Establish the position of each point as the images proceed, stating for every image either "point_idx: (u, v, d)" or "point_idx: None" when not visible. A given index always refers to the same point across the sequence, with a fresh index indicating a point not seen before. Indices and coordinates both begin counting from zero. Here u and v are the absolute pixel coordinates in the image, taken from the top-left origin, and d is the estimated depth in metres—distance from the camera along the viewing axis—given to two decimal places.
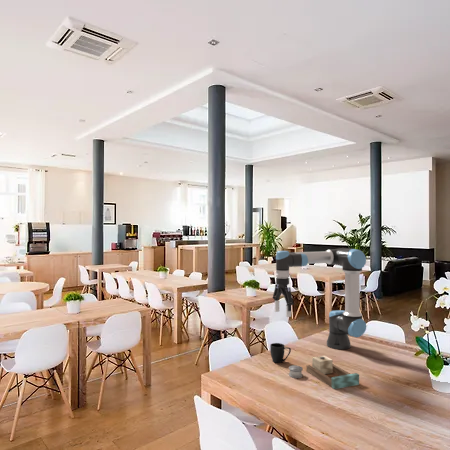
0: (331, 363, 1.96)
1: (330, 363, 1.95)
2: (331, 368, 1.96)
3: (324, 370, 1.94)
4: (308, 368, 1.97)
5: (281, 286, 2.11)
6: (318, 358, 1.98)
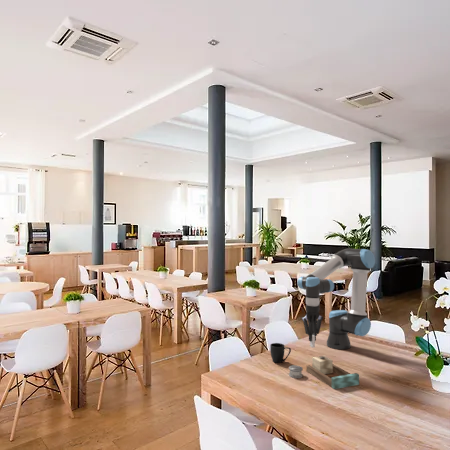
0: (331, 363, 1.96)
1: (330, 363, 1.95)
2: (331, 368, 1.96)
3: (324, 370, 1.94)
4: (308, 368, 1.97)
5: None
6: (318, 358, 1.98)
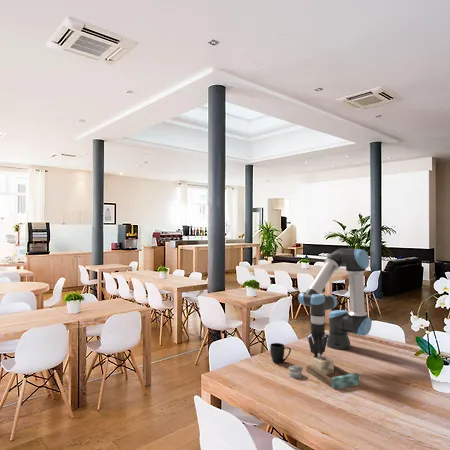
0: (333, 364, 1.95)
1: (331, 363, 1.94)
2: (332, 369, 1.95)
3: (325, 371, 1.93)
4: (308, 368, 1.97)
5: None
6: (319, 359, 1.97)
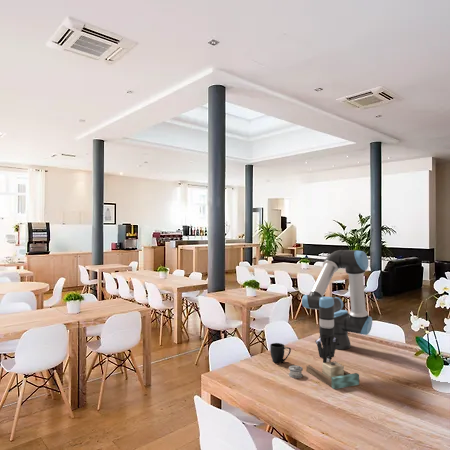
0: (343, 370, 1.87)
1: (341, 369, 1.87)
2: (342, 374, 1.87)
3: None
4: (308, 368, 1.97)
5: None
6: (328, 364, 1.89)
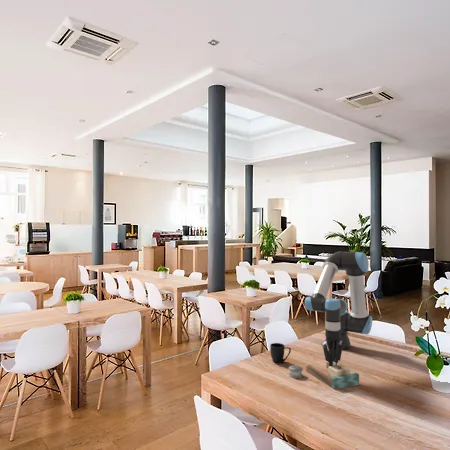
0: (349, 373, 1.82)
1: (347, 373, 1.82)
2: None
3: None
4: (308, 368, 1.97)
5: None
6: (335, 367, 1.85)
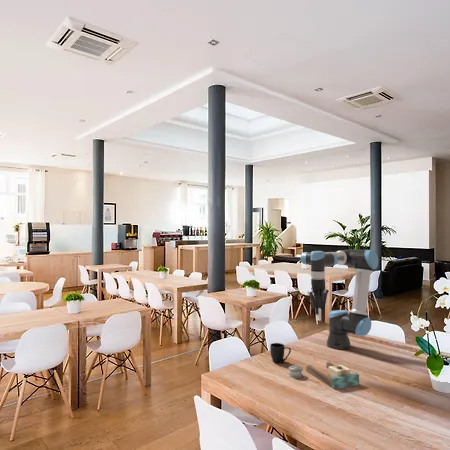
0: (349, 373, 1.82)
1: (347, 373, 1.82)
2: None
3: None
4: (308, 368, 1.97)
5: None
6: (335, 367, 1.85)
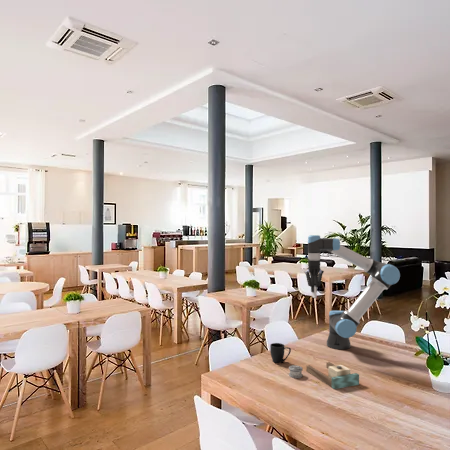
0: (349, 373, 1.82)
1: (347, 373, 1.82)
2: None
3: None
4: (308, 368, 1.97)
5: None
6: (335, 367, 1.85)
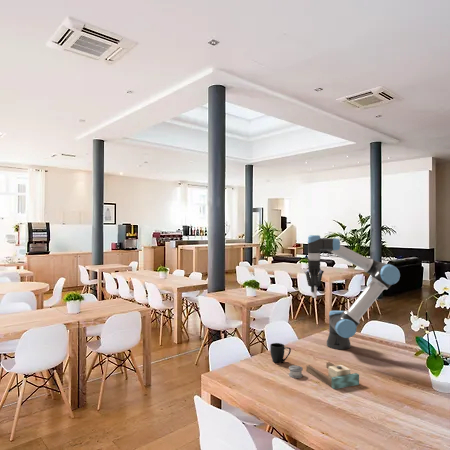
0: (349, 373, 1.82)
1: (347, 373, 1.82)
2: None
3: None
4: (308, 368, 1.97)
5: None
6: (335, 367, 1.85)
